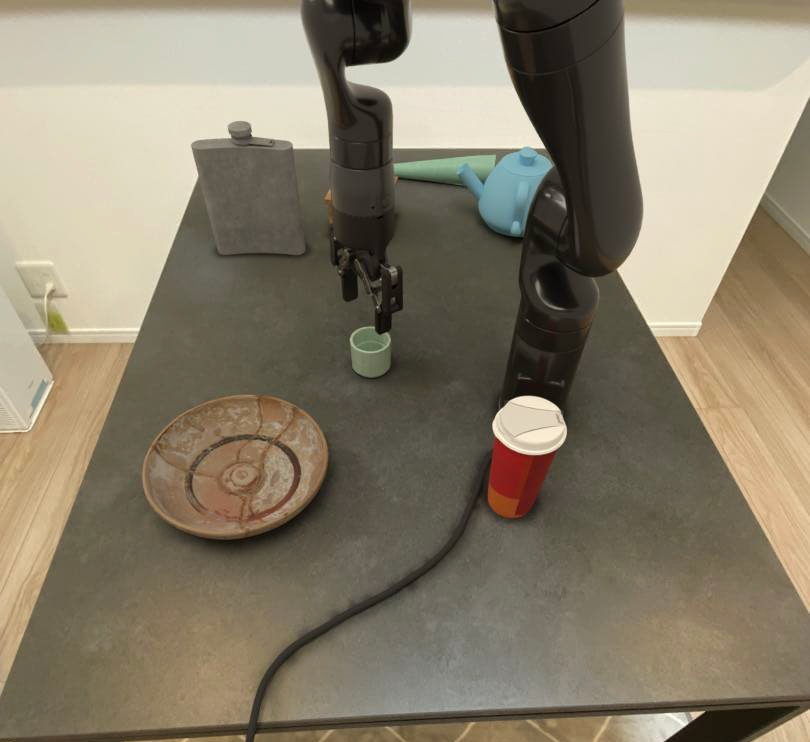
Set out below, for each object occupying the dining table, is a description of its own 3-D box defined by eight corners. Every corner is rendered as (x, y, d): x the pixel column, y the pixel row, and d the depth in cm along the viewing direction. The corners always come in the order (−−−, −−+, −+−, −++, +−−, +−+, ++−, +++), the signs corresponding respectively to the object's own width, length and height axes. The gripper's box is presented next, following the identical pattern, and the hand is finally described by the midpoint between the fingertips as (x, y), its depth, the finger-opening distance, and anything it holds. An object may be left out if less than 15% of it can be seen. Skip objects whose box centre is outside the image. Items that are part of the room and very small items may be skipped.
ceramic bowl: (365, 458, 82) (363, 433, 78) (257, 587, 71) (249, 566, 67) (232, 396, 89) (224, 369, 84) (115, 506, 77) (99, 481, 73)
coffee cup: (536, 475, 81) (562, 391, 69) (546, 524, 77) (576, 445, 64) (474, 475, 81) (490, 392, 69) (481, 526, 77) (498, 446, 64)
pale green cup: (385, 382, 91) (385, 355, 87) (347, 376, 91) (345, 349, 87) (394, 356, 94) (394, 329, 90) (357, 350, 95) (355, 323, 91)
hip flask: (216, 255, 108) (184, 131, 91) (219, 242, 110) (189, 119, 94) (305, 255, 109) (289, 132, 92) (306, 242, 111) (291, 120, 94)
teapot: (554, 256, 110) (572, 184, 99) (446, 244, 111) (452, 172, 101) (557, 200, 121) (572, 130, 110) (458, 190, 122) (464, 120, 111)
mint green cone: (365, 138, 122) (496, 149, 120) (366, 167, 127) (492, 178, 125) (360, 151, 119) (495, 162, 117) (361, 180, 124) (491, 191, 122)
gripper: (305, 179, 73) (317, 298, 86) (368, 234, 66) (371, 353, 80) (357, 163, 75) (362, 281, 89) (423, 215, 69) (417, 333, 82)
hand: (366, 315), depth 84 cm, fingers open, 8 cm apart
